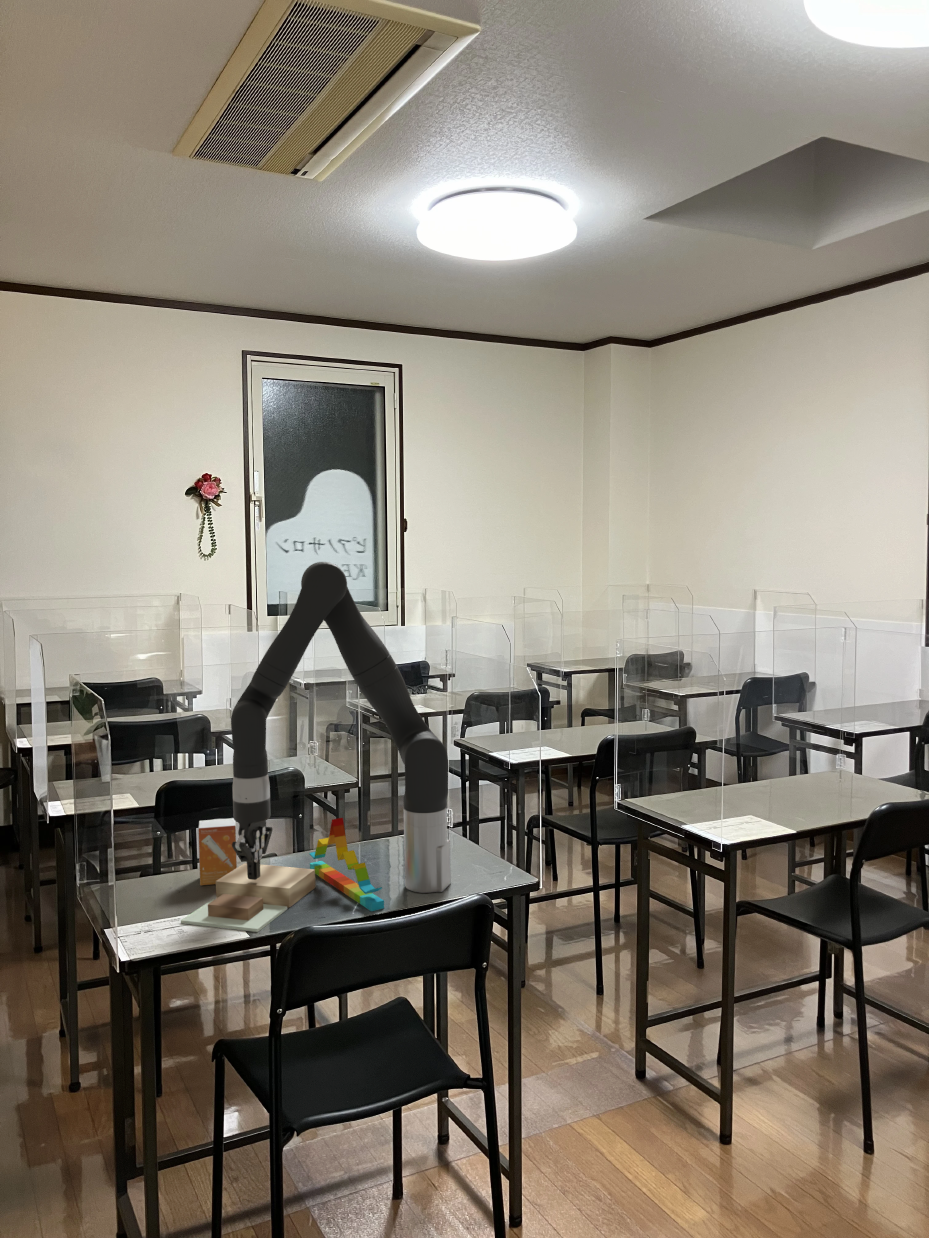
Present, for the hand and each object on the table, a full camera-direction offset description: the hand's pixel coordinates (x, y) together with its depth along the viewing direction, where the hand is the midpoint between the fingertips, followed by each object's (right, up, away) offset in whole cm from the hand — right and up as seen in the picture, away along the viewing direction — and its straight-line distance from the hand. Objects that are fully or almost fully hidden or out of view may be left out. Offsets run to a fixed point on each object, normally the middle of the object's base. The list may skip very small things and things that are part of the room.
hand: (254, 878), depth 205 cm
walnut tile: (-2, -4, -8) cm, 9 cm away
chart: (+18, -5, +7) cm, 20 cm away
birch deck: (+2, -5, +5) cm, 7 cm away
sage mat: (-2, -6, -8) cm, 10 cm away
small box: (-11, -4, +14) cm, 18 cm away
